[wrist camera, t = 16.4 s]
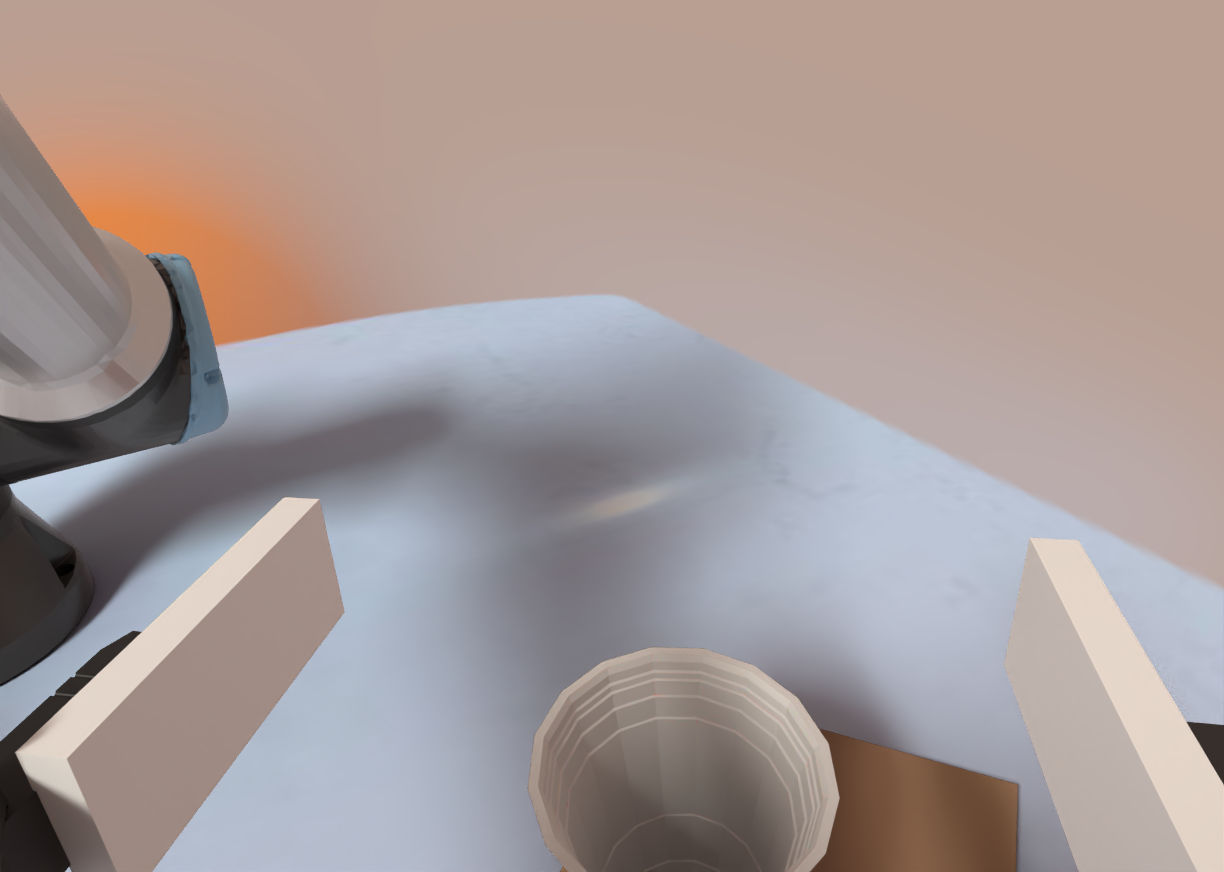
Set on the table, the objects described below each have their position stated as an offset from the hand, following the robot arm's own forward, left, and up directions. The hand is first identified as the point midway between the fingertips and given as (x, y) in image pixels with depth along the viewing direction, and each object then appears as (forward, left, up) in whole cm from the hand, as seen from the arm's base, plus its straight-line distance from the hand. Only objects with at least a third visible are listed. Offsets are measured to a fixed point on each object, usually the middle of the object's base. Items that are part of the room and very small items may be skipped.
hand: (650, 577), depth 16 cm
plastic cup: (-2, +7, -27) cm, 28 cm away
